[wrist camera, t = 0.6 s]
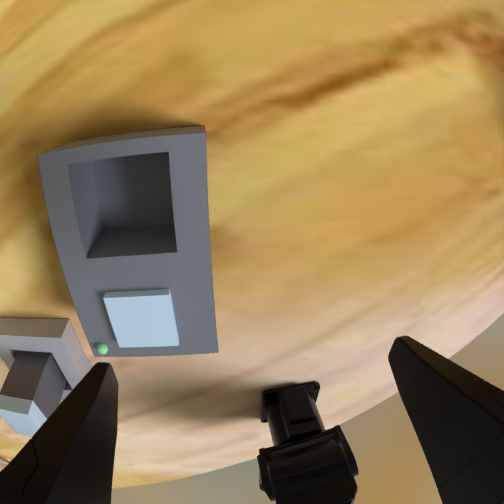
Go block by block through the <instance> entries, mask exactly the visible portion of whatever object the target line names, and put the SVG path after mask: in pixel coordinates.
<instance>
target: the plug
mask: <svg viewBox="0 0 504 504" xmlns="http://www.w3.org/2000/svg"><path fill="white" fill-rule="evenodd" d="M66 381H67V379H66V377H65V376H64V374H63V372H62V370H61V369H60V367H59V365H58V363H57V361H56V360H55V358H54V356H53V354H52V353H51V352H35V351H22V350H19V352H18V354H17V356H16V358H15V360H14V362H13V364H12V366H11V368H10V371H9V373H8V375H7V377H6V380H5V382H4V384H3V387H2V389H1V391H0V415H1V416H2V417H3V418H4V420H5V421H6V422H7V423H8V424H9V425H10V426H11V427H12V428H13V430H14V431H15V432H16V433H18V434H22V435H27V436H31V437H32V436H33V435H34V434H35V433H36V432H37V430H38V429H39V428H40V427H41V426H42V424H43V423H44V422H45V421H46V420H47V419H48V417H49V416H50V415H51V414H52V413H53V412H54V410H55V409H56V408H57V407H58V406H59V404H60V401H61V397H62V394H63V390H64V387H65V384H66Z"/></svg>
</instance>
